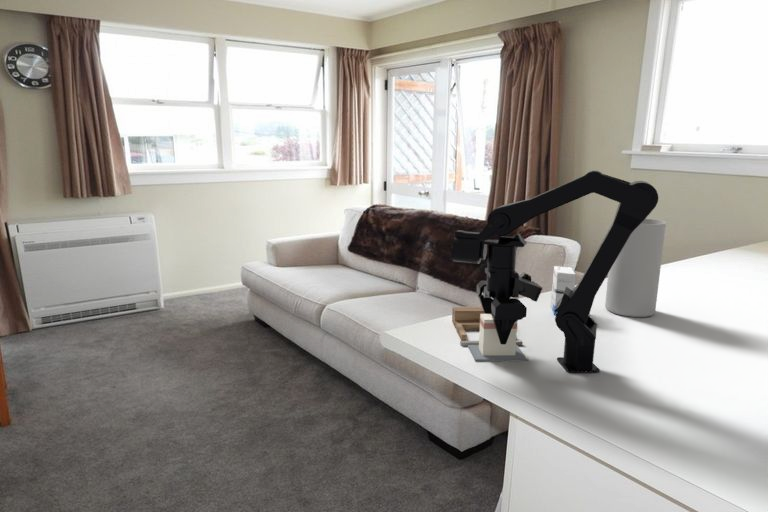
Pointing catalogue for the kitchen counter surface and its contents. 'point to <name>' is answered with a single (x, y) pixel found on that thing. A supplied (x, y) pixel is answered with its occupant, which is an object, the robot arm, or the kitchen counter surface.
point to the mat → (479, 357)
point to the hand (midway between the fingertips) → (497, 336)
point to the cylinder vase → (637, 272)
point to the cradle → (468, 323)
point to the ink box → (561, 283)
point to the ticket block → (495, 338)
